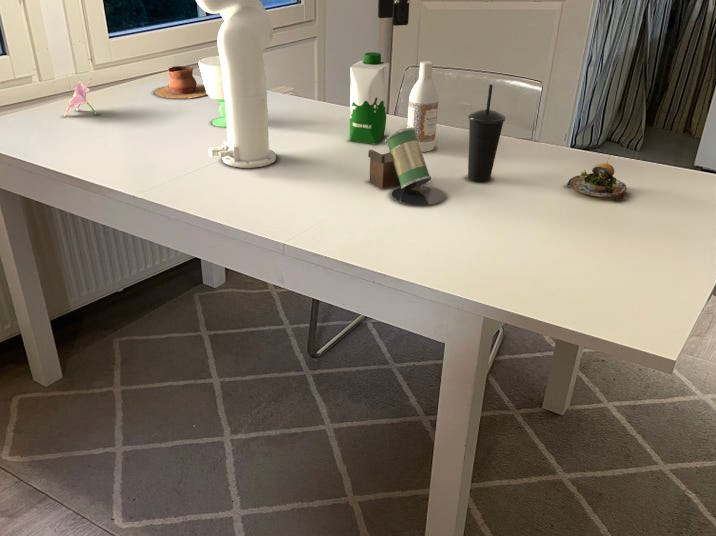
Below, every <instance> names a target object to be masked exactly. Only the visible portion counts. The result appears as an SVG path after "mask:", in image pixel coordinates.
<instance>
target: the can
mask: <svg viewBox="0 0 716 536" xmlns="http://www.w3.org/2000/svg"><path fill="white" fill-rule="evenodd" d="M415 132H416V130H415V128H407V127H406V128H403V129H400V130H397V131H395V132H393V133H391V134H390V135H388V136H387V137H385V139H384V143H386V144H387V147H388V151H389V153H390V154H391V157H392V160H393V163H394V166H395V169H396V172H397V175H398V178H399V181H400V184H401V185H400V187H401V190H402V191H406V190H410V189H414V188H417V187H419V186H425V185H426V184H427V183H430V182H431V181H432V176H431V175H430V173H429V170H428V166H427V163H426V160H425V157H424V154H423V152H422V151H421V148H420V145H419V142H418V139H417V136H416V133H415Z"/></svg>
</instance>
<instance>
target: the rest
mask: <svg viewBox="0 0 716 536" xmlns="http://www.w3.org/2000/svg"><path fill="white" fill-rule="evenodd" d="M368 158H369V178H368V179H369V180H368V182H369V183H370V184H372V185H374V186H376V187H378V188H379V189H382V190H385V189H389V188H393V187H398V186H401V184H400V181H399V178H398V175H397V172H396V169H395V166H394V163H393V160H392V157H391V154H390V152H386V153H380V152H377V151H375V150H374V149H368Z"/></svg>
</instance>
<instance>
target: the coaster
mask: <svg viewBox="0 0 716 536" xmlns="http://www.w3.org/2000/svg"><path fill="white" fill-rule="evenodd" d="M391 198H392V199H393V200H394V201H395V202H396V203H398V204H402V205H406V206H409V207H410V206H411V207H430V206H434V205H438V204H440V203H442V202H443V201H444V200H445V194H444V193H443V192H442V191H441V190H439V189H437V188H434V187H432V186H431V187H430V186H427V185H426V186H425V185H422V186H419V187H417V188H414V189H410V190H406V191H402V190H401V186H400V187H398V188H396V189H394V190H392V191H391Z"/></svg>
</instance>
